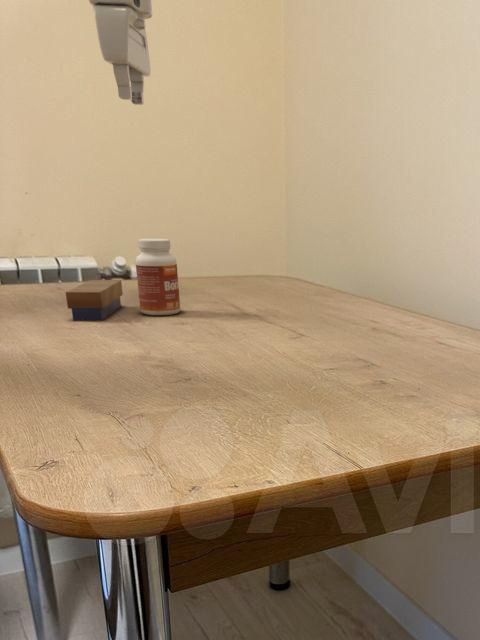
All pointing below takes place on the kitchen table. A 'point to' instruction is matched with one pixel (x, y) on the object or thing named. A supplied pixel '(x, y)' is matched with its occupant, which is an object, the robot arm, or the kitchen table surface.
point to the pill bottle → (157, 278)
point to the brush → (94, 299)
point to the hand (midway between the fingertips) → (132, 102)
